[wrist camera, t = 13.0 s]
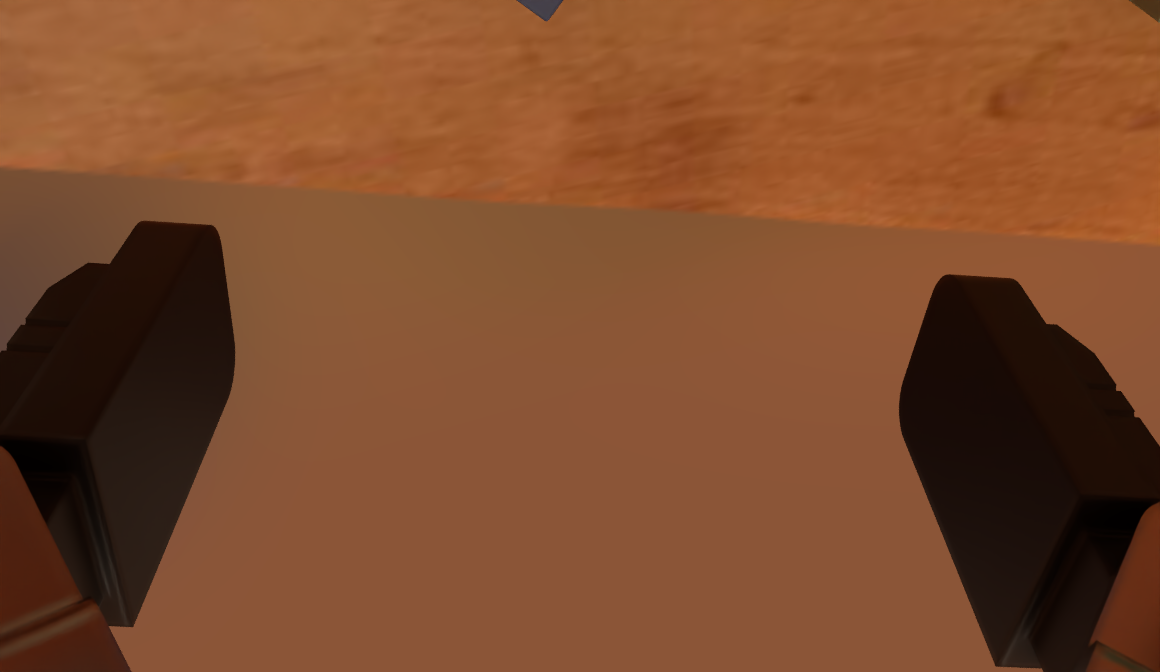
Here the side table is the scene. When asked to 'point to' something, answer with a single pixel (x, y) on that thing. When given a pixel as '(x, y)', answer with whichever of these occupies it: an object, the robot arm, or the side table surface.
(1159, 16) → the bin
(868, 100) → the side table surface
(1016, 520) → the robot arm
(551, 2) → the blue spoon
